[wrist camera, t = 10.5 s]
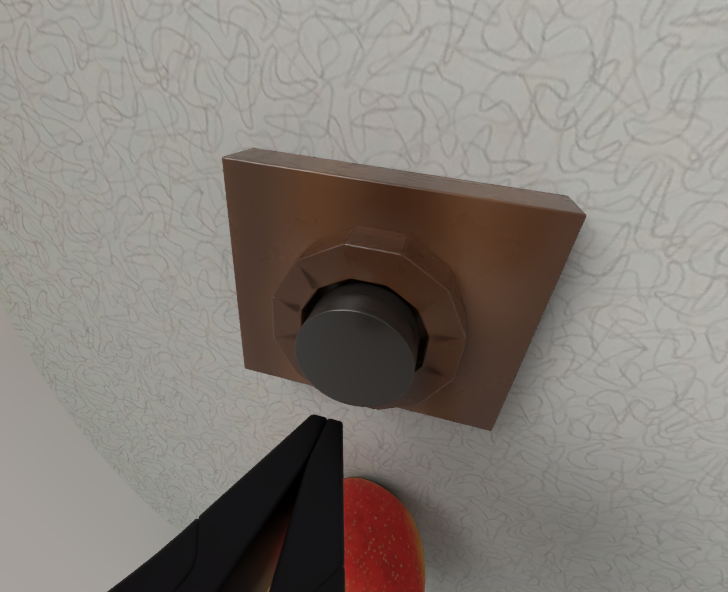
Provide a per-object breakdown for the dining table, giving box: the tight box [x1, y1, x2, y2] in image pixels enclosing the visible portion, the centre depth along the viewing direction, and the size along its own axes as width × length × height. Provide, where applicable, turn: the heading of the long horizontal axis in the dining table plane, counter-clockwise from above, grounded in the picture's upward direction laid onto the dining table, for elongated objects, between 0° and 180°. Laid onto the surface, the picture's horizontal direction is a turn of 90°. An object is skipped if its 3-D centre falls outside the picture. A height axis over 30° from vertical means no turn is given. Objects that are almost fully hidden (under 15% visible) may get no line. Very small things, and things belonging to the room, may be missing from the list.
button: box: [295, 283, 420, 407], centre depth 12 cm, size 4×4×2 cm
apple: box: [344, 477, 426, 592], centre depth 20 cm, size 8×8×10 cm
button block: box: [222, 148, 586, 431], centre depth 14 cm, size 12×10×4 cm
